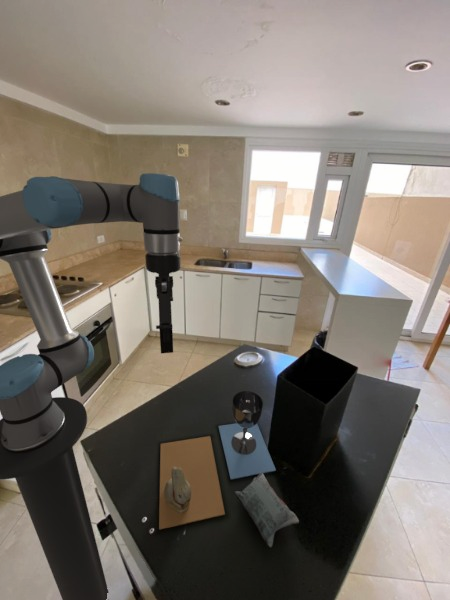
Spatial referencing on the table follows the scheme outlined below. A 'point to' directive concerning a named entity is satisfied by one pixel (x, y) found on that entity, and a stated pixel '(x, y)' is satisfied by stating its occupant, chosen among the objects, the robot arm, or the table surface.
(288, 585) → the table surface
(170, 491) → the grey stone figurine
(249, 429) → the mat blue
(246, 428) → the wine glass
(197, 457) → the mat brown
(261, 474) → the packaged food
